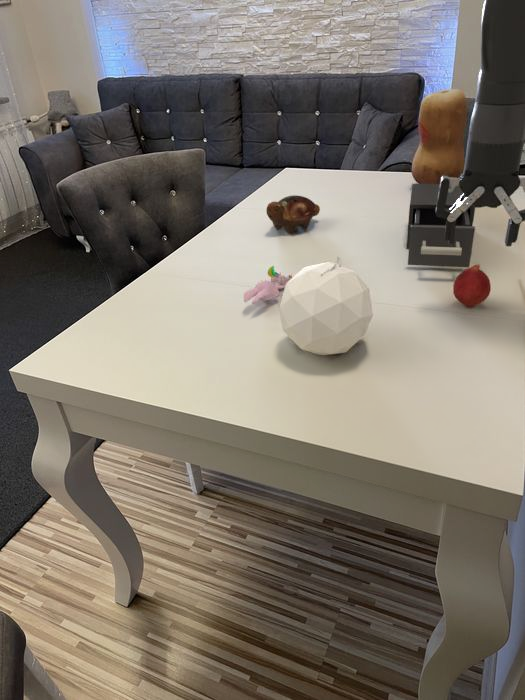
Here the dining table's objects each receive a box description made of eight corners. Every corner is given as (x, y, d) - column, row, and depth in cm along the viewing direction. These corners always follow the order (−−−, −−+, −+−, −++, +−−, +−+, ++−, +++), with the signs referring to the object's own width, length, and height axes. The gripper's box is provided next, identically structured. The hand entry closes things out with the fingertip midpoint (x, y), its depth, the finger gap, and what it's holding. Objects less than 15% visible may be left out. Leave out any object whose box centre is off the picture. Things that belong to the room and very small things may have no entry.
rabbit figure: (271, 285, 106) (233, 308, 94) (271, 256, 104) (232, 276, 92) (300, 290, 104) (264, 314, 92) (301, 260, 101) (264, 281, 89)
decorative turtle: (256, 233, 128) (254, 199, 124) (301, 220, 136) (300, 188, 132) (284, 240, 121) (283, 205, 117) (329, 226, 130) (330, 192, 126)
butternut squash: (402, 186, 150) (409, 88, 137) (447, 181, 152) (458, 83, 138) (423, 201, 139) (434, 95, 125) (472, 194, 140) (487, 90, 127)
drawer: (470, 278, 98) (476, 237, 94) (406, 275, 101) (409, 236, 97) (465, 240, 113) (470, 204, 109) (409, 239, 116) (412, 203, 112)
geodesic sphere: (302, 278, 92) (282, 233, 79) (386, 287, 87) (379, 240, 74) (281, 360, 87) (256, 326, 74) (368, 374, 82) (358, 340, 70)
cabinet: (468, 250, 111) (475, 205, 106) (406, 248, 114) (409, 204, 109) (465, 225, 122) (471, 183, 117) (408, 224, 126) (412, 183, 120)
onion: (450, 313, 90) (456, 270, 85) (450, 298, 94) (456, 255, 90) (487, 316, 88) (495, 272, 84) (486, 300, 93) (493, 257, 88)
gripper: (444, 142, 75) (432, 251, 83) (556, 140, 71) (531, 254, 80) (443, 131, 81) (432, 233, 89) (546, 129, 77) (524, 236, 86)
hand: (479, 243), depth 85 cm, fingers open, 8 cm apart
